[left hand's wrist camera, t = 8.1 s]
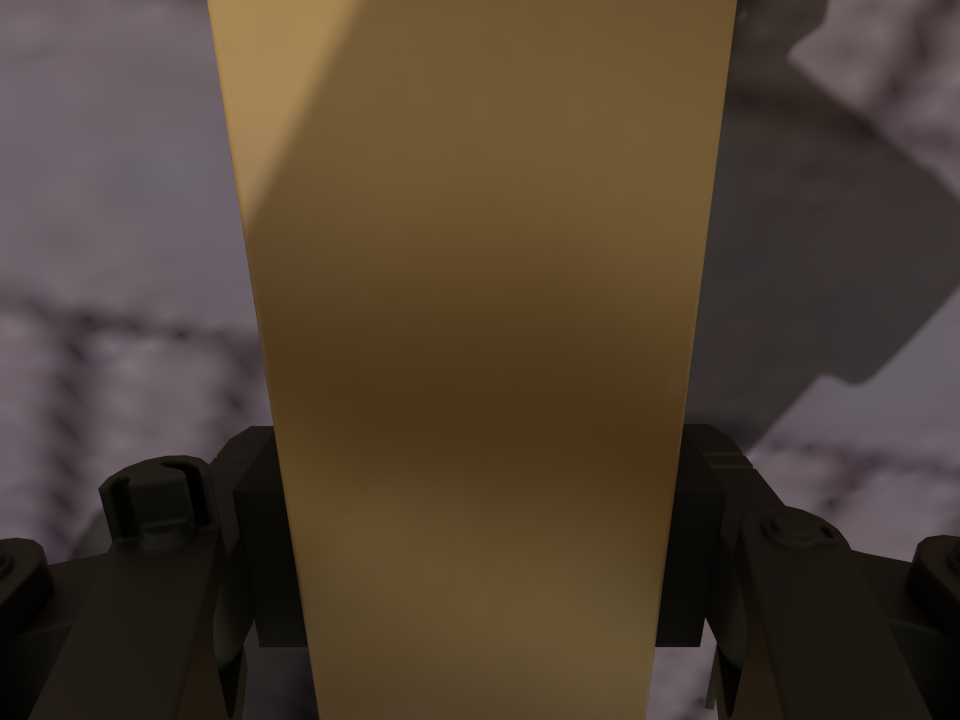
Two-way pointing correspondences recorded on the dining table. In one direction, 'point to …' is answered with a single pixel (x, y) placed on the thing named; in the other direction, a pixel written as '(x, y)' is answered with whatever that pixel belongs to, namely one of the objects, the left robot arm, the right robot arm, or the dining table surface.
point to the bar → (476, 331)
